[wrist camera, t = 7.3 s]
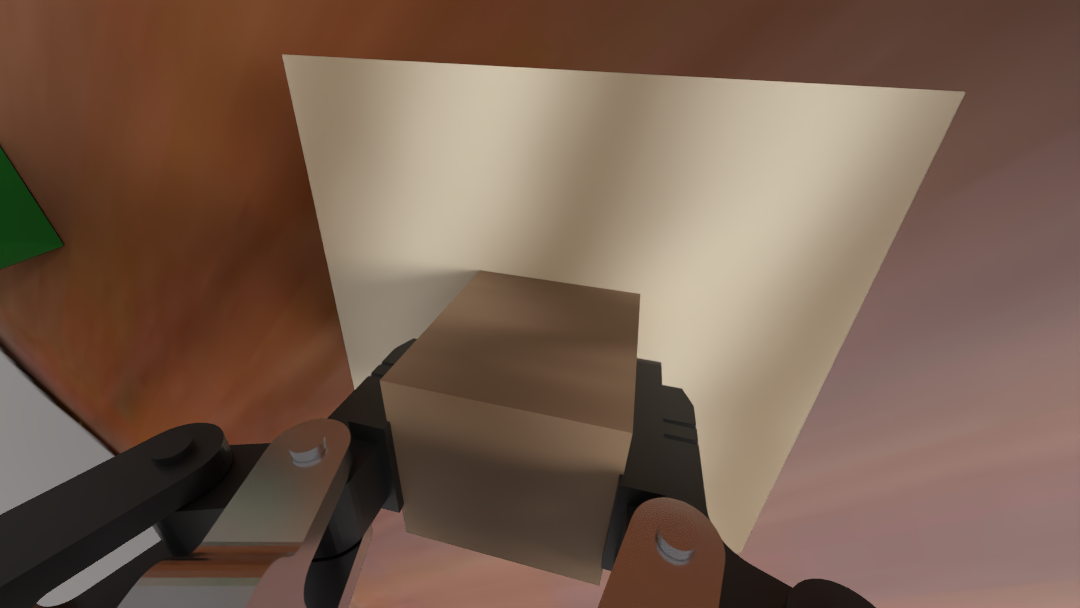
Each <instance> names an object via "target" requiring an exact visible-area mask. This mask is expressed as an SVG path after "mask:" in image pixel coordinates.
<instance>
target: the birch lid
mask: <svg viewBox="0 0 1080 608" xmlns="http://www.w3.org/2000/svg"><path fill="white" fill-rule="evenodd" d="M282 57H283V61H284V66H285V71H286V75H287V80H288V85H289V89H290V94H291V98H292V103H293V108H294V112H295V117H296V121H297V126H298V131H299V135H300V140H301V145H302V149H303V154H304V158H305V163H306V168H307V172H308V177H309V182H310V186H311V191H312V195H313V200H314V205H315V209H316V214H317V218H318V223H319V228H320V232H321V237H322V242H323V246H324V251H325V255H326V260H327V265H328V269H329V274H330V279H331V283H332V288H333V292H334V297H335V302H336V306H337V311H338V315H339V320H340V325H341V329H342V334H343V339H344V343H345V348H346V352H347V357H348V362H349V366H350V371H351V376H352V380H353V385H354V389H356V388H357V387H358V386H359V385H360V384H361V383H362V382H363V381H364V380H365V379H366V378H367V377H368V376H371V373H372V371H373V370H374V369H375V368H376V367H377V366H378V365H379V364H380V365H381V364H382V361H383V360H384V359H385V358H386V357H387V356H388V355H389V354H390V353H391V352H392V351H393V350H394V349H395V348H396V347H398V346H400V345H402V344H404V343H406V342H407V341H409V340H411V339H413V338H415V339H417V340H416V341H415V342H414V343H413V344H412V345H411V347H410V348H409V349H408V350H407V351H406V352H405V353H404V354H403V355H402V356H401V358H400V359H399V360H398V361H397V362H396V363H395V364H394V365H393V366H392V367H391V369H390V370H389V371H388V372H387V373H386V374H385V375H384V376H383V377H382V378H381V380H380V385H381V391H382V397H383V402H384V408H385V414H386V419H387V421H388V422H390V425H391V431H392V437H393V443H394V448H395V454H396V460H397V466H398V472H399V478H400V483H401V489H402V495H403V501H404V506H403V507H402V510H403V516H404V522H405V527H406V532H408V533H411V534H415V535H419V536H422V537H426V538H430V539H433V540H437V541H440V542H444V543H448V544H451V545H455V546H458V547H462V548H466V549H469V550H473V551H476V552H480V553H484V554H487V555H491V556H494V557H498V558H502V559H505V560H509V561H512V562H516V563H520V564H523V565H527V566H530V567H534V568H538V569H541V570H545V571H548V572H552V573H556V574H559V575H563V576H566V577H570V578H574V579H577V580H581V581H584V582H588V583H592V584H595V585H600V580H601V575H602V571H603V568H601V563H602V555H603V551H604V546H605V541H606V536H607V532H608V527H609V522H610V518H611V513H612V508H613V503H614V499H615V494H616V489H617V485H618V480H619V475H620V474H621V475H624V471H625V466H626V461H627V457H628V452H629V448H630V443H631V439H632V434H633V418H634V400H635V382H636V364H637V358H640V359H646V360H651V361H657V362H661V366H662V385H666V386H671V387H676V388H682V389H683V391H684V392H685V394H686V395H687V397H688V398H689V400H690V401H691V403H692V404H693V406H694V412H695V419H696V429H697V435H698V445H699V451H700V459H701V467H702V475H703V482H704V490H705V498H706V506H707V511H708V516H709V518H710V521H711V523H712V524H713V525H714V527H715V528H716V529H717V531H718V533H719V535H720V537H721V539H722V540H723V542H724V543H725V544H726V545H727V546H728V547H729V548H730V549H731V550H732V551H733V552H735V553H739V554H740V553H741V551H742V549H743V547H744V545H745V543H746V541H747V539H748V536H749V534H750V532H751V530H752V528H753V526H754V524H755V522H756V520H757V518H758V516H759V514H760V512H761V510H762V508H763V506H764V504H765V502H766V500H767V498H768V496H769V493H770V491H771V489H772V487H773V485H774V483H775V481H776V479H777V477H778V475H779V473H780V471H781V469H782V467H783V465H784V463H785V461H786V459H787V457H788V455H789V453H790V451H791V448H792V446H793V444H794V442H795V440H796V438H797V436H798V434H799V432H800V430H801V428H802V426H803V424H804V422H805V420H806V418H807V416H808V414H809V412H810V410H811V408H812V406H813V403H814V401H815V399H816V397H817V395H818V393H819V391H820V389H821V387H822V385H823V383H824V381H825V379H826V377H827V375H828V373H829V371H830V369H831V367H832V365H833V363H834V361H835V358H836V356H837V354H838V352H839V350H840V348H841V346H842V344H843V342H844V340H845V338H846V336H847V334H848V332H849V330H850V328H851V326H852V324H853V322H854V320H855V318H856V316H857V313H858V311H859V309H860V307H861V305H862V303H863V301H864V299H865V297H866V295H867V293H868V291H869V289H870V287H871V285H872V283H873V281H874V279H875V277H876V275H877V273H878V271H879V268H880V266H881V264H882V262H883V260H884V258H885V256H886V254H887V252H888V250H889V248H890V246H891V244H892V242H893V240H894V238H895V236H896V234H897V232H898V230H899V228H900V225H901V223H902V221H903V219H904V217H905V215H906V213H907V211H908V209H909V207H910V205H911V203H912V201H913V199H914V197H915V195H916V193H917V191H918V189H919V187H920V185H921V183H922V180H923V178H924V176H925V174H926V172H927V170H928V168H929V166H930V164H931V162H932V160H933V158H934V156H935V154H936V152H937V150H938V148H939V146H940V144H941V142H942V140H943V138H944V135H945V133H946V131H947V129H948V127H949V125H950V123H951V121H952V119H953V117H954V115H955V113H956V111H957V109H958V107H959V105H960V103H961V101H962V99H963V97H964V95H965V93H966V92H961V91H943V90H924V89H906V88H888V87H869V86H851V85H833V84H814V83H796V82H778V81H759V80H741V79H723V78H704V77H686V76H668V75H649V74H631V73H613V72H594V71H576V70H558V69H539V68H521V67H503V66H484V65H466V64H448V63H429V62H411V61H393V60H374V59H356V58H338V57H319V56H301V55H283V54H282Z"/></svg>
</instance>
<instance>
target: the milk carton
mask: <svg viewBox="0 0 1080 608" xmlns="http://www.w3.org/2000/svg"><path fill="white" fill-rule="evenodd" d="M62 246H64V244H63V243H62V242H61V240H60V238H59V237H58V235H57V234H56V232H55V231H54V229H53V228H52V226H51V225H50V223H49V221H48V220H47V218H46V217H45V215H44V214H43V212H42V211H41V209H40V207H39V206H38V204H37V203H36V201H35V200H34V198H33V197H32V195H31V194H30V192H29V190H28V189H27V187H26V186H25V184H24V183H23V181H22V180H21V178H20V176H19V175H18V173H17V172H16V170H15V169H14V167H13V166H12V164H11V163H10V161H9V159H8V158H7V156H6V155H5V153H4V152H3V150H2V149H1V147H0V269H2V268H5V267H8V266H10V265H13V264H16V263H19V262H21V261H24V260H27V259H29V258H32V257H35V256H37V255H40V254H43V253H45V252H48V251H51V250H53V249H56V248H59V247H62Z"/></svg>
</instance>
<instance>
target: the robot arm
mask: <svg viewBox="0 0 1080 608" xmlns="http://www.w3.org/2000/svg"><path fill="white" fill-rule="evenodd" d="M416 340H417V339H415V338H413V339H411V340H409V341H407V342H406V343H404V344H402V345H400V346H398V347H396V348H395V349H394V350H393V351H392V352H391V353H390V354H389V355H388V356H387V357H386V358H385V359H384V360H383V361H382V364H381V365H380V364H379V365H378V366H377V367H376V368H375V369H374V370H373V371H372V373H371V376H368V377H367V378H366V379H365V380H364V381H363V382H362V383H361V384H360V385H359V386H358V387H357V388H356V389H355V390H354V391H353V392H352V393H351V394H350V395H349V396H348V397H347V399H346V400H345V401H344V402H343V403H342V404H341V405H340V406H339V407H338V408H337V409H336V410H335V411H334V412H333V413H332V414H331V415H330V416H329V417H328V418H327V419H314V420H309V421H305V422H302V423H300V424H297V425H295V426H293V427H291V428H289V429H287V430H286V431H284V432H283V433H281V434H280V435H279V436H277V437H276V438H275V439H274V440H273V441H272V442H271V443H264V444H244V445H228V442H227V440H226V438H225V436H224V433H223V431H222V430H221V429H220V428H219V427H218V426H216V425H213V424H209V423H193V424H187V425H182V426H179V427H175V428H172V429H170V430H167V431H165V432H163V433H160V434H158V435H156V436H154V437H152V438H150V439H148V440H146V441H144V442H142V443H140V444H139V445H137V446H135V447H133V448H131V449H129V450H127V451H125V452H123V453H121V454H119V455H117V456H115V457H113V458H111V459H109V460H107V461H105V462H103V463H101V464H99V465H97V466H95V467H93V468H91V469H89V470H87V471H86V472H84V473H82V474H80V475H78V476H76V477H74V478H72V479H70V480H68V481H66V482H64V483H62V484H60V485H58V486H56V487H54V488H52V489H50V490H49V491H46V492H44V493H42V494H40V495H38V496H36V497H35V498H32V499H31V500H29V501H27V502H25V503H23V504H21V505H19V506H17V507H15V508H13V509H11V510H9V511H7V512H5V513H3V514H2V515H0V608H348V607H349V604H350V601H351V599H352V596H353V593H354V590H355V587H356V584H357V581H358V578H359V575H360V572H361V569H362V566H363V563H364V560H365V557H366V554H367V551H368V548H369V545H370V542H371V538H372V532H373V528H372V522H373V520H374V519H375V517H376V515H377V514H378V512H379V511H380V509H381V508H383V509H387V510H391V511H395V512H398V513H399V512H400V511H401V509H402V507H403V506H404V501H403V495H402V489H401V483H400V478H399V472H398V466H397V460H396V454H395V448H394V443H393V437H392V431H391V425H390V422H388V421H387V419H386V414H385V408H384V402H383V397H382V391H381V385H380V380H381V378H382V377H383V376H384V375H385V374H386V373H387V372H388V371H389V370H390V369H391V367H392V366H393V365H394V364H395V363H396V362H397V361H398V360H399V359H400V358H401V356H402V355H403V354H404V353H405V352H406V351H407V350H408V349H409V348H410V347H411V345H412V344H413V343H414V342H415V341H416ZM151 526H153V528H154V529H155V531H156V532H157V534H158V535H159V537H160V538H161V541H160V542H158V543H156V544H155V545H153V546H152V547H151V548H149V549H147V550H146V551H144V552H143V553H142V554H140V555H139V556H137V557H135V558H134V559H133V560H131V561H130V562H128V563H127V564H125V565H124V566H122V567H121V568H119V569H118V570H116V571H115V572H113V573H112V574H110V575H109V576H107V577H106V578H104V579H103V580H101V581H100V582H99V583H97V584H95V585H94V586H92V587H91V588H90V589H88V590H86V591H85V592H83V593H82V594H80V595H79V596H77V597H75V598H74V599H72V600H70V601H68V602H65V603H63V604H60V605H57V606H52V607H43V606H40V605H38V604H37V602H38V601H39V600H40V599H41V598H42V597H43V596H44V595H45V594H47V593H48V592H50V591H51V590H52V589H54V588H56V587H57V586H59V585H60V584H62V583H63V582H65V581H67V580H68V579H70V578H71V577H73V576H74V575H76V574H77V573H79V572H81V571H82V570H84V569H85V568H87V567H89V566H90V565H92V564H93V563H95V562H96V561H98V560H99V559H101V558H103V557H104V556H106V555H107V554H109V553H110V552H112V551H114V550H115V549H117V548H118V547H120V546H121V545H123V544H125V543H126V542H128V541H129V540H131V539H132V538H134V537H135V536H137V535H139V534H140V533H142V532H143V531H145V530H146V529H148V528H150V527H151ZM601 568H603V569H606V570H610V571H611V574H610V577H609V579H608V582H607V585H606V587H605V590H604V593H603V595H602V598H601V601H600V603H599V606H598V608H876V607H874V606H873V605H872V604H871V603H870V602H868V601H867V600H866V599H864V598H863V597H862V596H860V595H859V594H857V593H856V592H854V591H852V590H851V589H849V588H847V587H845V586H843V585H840V584H838V583H835V582H832V581H829V580H824V579H808V580H804V581H802V582H800V583H798V584H797V585H796V586H795V587H793V588H792V587H790V586H788V585H787V584H785V583H783V582H781V581H779V580H778V579H776V578H774V577H772V576H770V575H769V574H767V573H765V572H763V571H761V570H760V569H758V568H756V567H754V566H752V565H751V564H749V563H748V562H746V561H744V560H743V559H742V558H740V557H739V556H738V555H737V554H735V553H734V552H733V551H732V550H731V549H730V548H729V547H728V546H727V545H726V544H725V543H724V542H723V540H722V539H721V537H720V535H719V533H718V531H717V529H716V528H715V527H714V525H713V524H712V523H711V521H710V518H709V516H708V511H707V506H706V498H705V490H704V482H703V475H702V467H701V459H700V451H699V445H698V435H697V429H696V419H695V412H694V406H693V404H692V403H691V401H690V400H689V398H688V397H687V395H686V394H685V392H684V391H683V389H682V388H676V387H671V386H666V385H662V366H661V362H657V361H651V360H646V359H640V358H637V364H636V382H635V400H634V418H633V434H632V439H631V443H630V448H629V452H628V457H627V461H626V466H625V471H624V475H621V474H620V475H619V480H618V485H617V489H616V494H615V499H614V503H613V508H612V513H611V518H610V522H609V527H608V532H607V536H606V541H605V546H604V551H603V555H602V563H601Z"/></svg>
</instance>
